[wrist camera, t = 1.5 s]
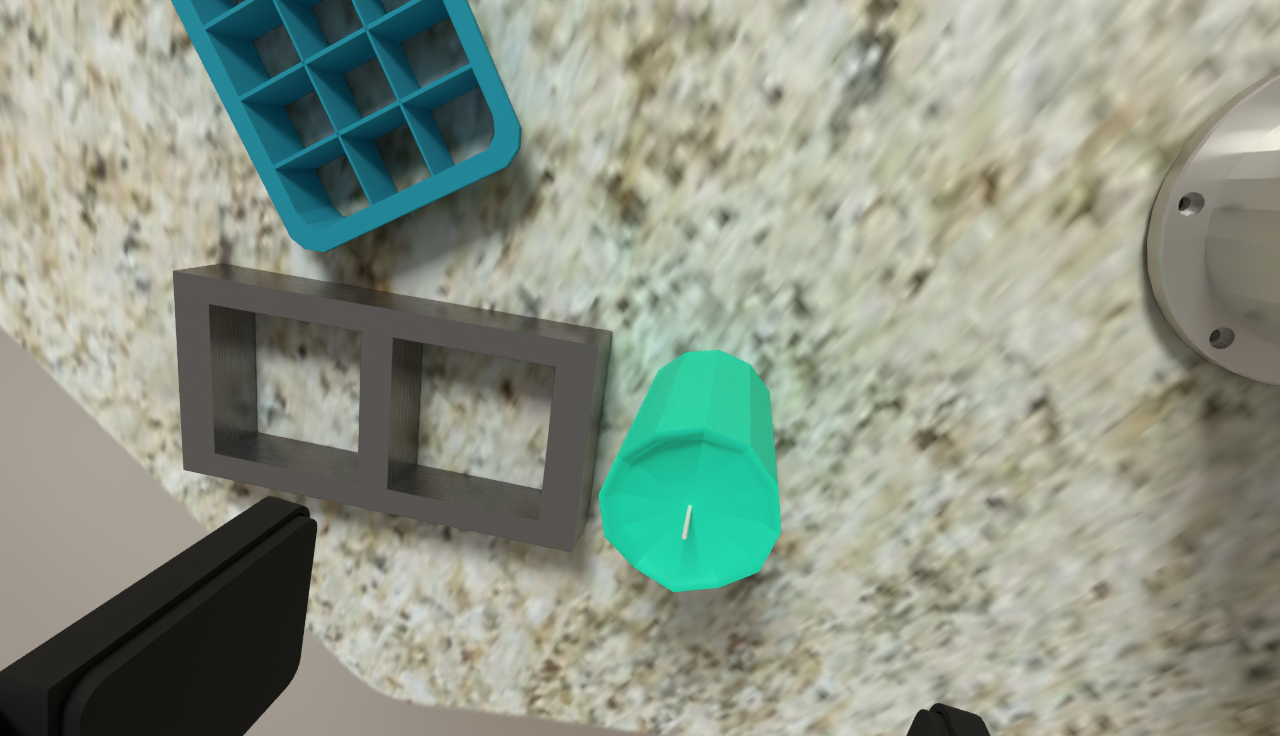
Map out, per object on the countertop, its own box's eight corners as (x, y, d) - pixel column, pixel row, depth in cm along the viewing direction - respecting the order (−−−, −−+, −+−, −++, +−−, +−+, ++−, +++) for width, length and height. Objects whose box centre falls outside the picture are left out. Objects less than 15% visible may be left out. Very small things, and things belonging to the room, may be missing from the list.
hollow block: (612, 331, 32) (598, 346, 29) (587, 521, 34) (572, 552, 32) (221, 263, 34) (172, 270, 31) (227, 447, 37) (183, 469, 34)
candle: (626, 372, 32) (557, 476, 21) (747, 331, 31) (746, 418, 19) (670, 484, 33) (629, 642, 22) (789, 449, 32) (812, 598, 20)
